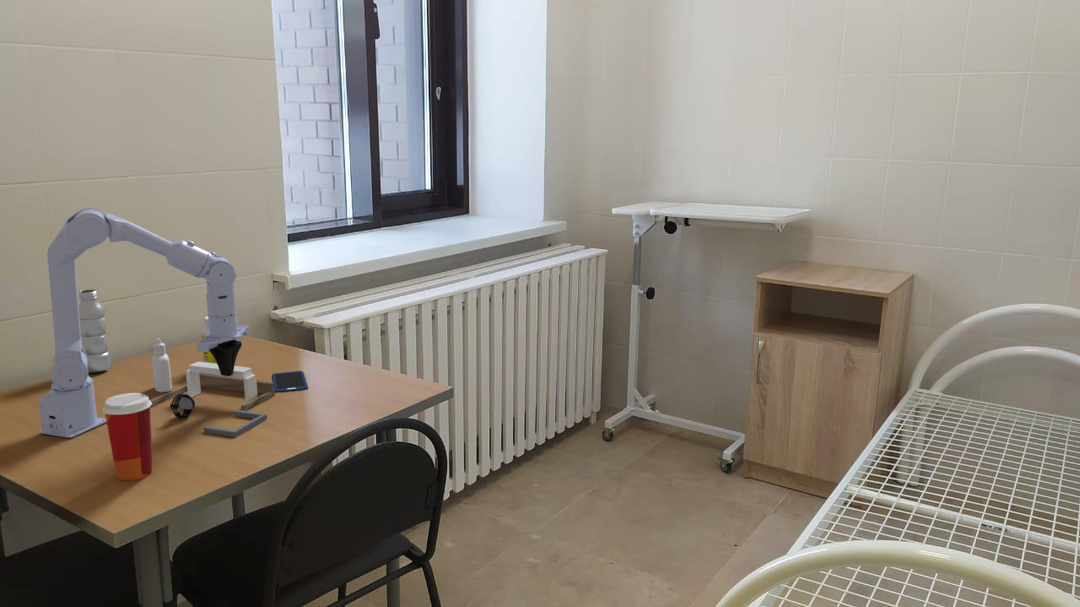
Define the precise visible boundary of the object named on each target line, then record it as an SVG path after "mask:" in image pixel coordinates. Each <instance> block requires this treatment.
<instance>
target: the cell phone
mask: <svg viewBox="0 0 1080 607" xmlns="http://www.w3.org/2000/svg"><path fill="white" fill-rule="evenodd" d="M271 378H272V382H274V392H275V393H276V394H280V393H279V392H282V393H290V392H289V391H291V392H298V391H299V392H301V391H307V390H309V386H308V383H307V382H308V381H307V380H306V376H305V374H304V371H303V370H297V371H294V370H293V371H286V372H285V371H284V372H274V373H272V374H271ZM277 392H278V393H277Z"/></svg>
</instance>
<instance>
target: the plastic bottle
mask: <svg viewBox="0 0 1080 607" xmlns="http://www.w3.org/2000/svg"><path fill="white" fill-rule="evenodd" d="M98 298H99V296H98V292H97V290H96V289H83V290H80V291H79V292H78V301H79V300H80V302H79V303H78V307H79V319H80V332H81V340H82V347H83V350H84V351H85V353H86V354H87V356H88V359H89V363H88V373H91V374H92V373H100V372H104V371H107V370H109V368H110V366H111V364H112V358H111V354H110V351H109V348H108V343H107V335H106V325H107V324H106V322H107V320H106V319H107V311H106V308H105V306H103V304H102V303H101V302H100V301H98Z"/></svg>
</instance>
